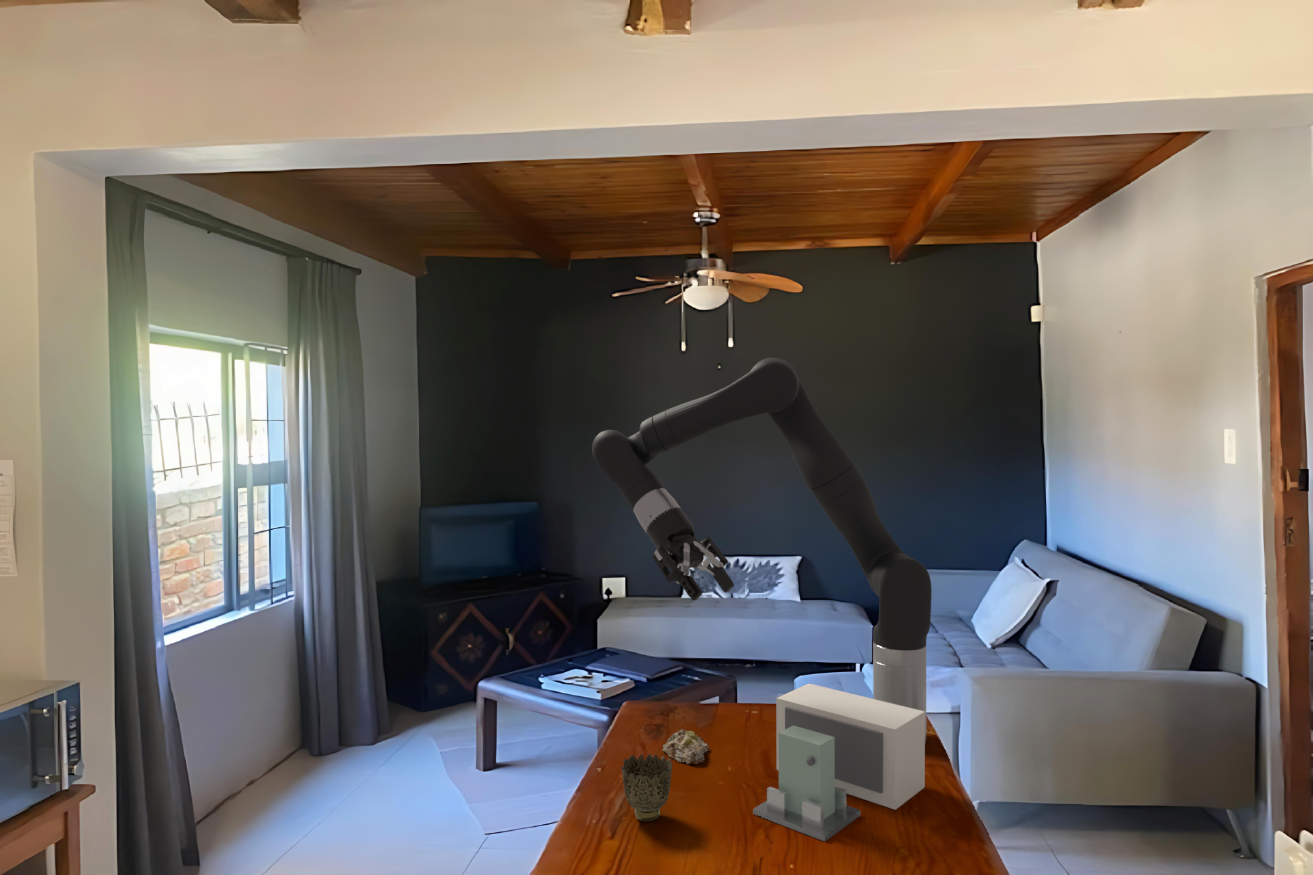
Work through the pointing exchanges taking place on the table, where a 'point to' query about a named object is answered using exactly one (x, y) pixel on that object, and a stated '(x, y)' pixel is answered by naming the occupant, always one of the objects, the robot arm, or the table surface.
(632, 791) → the cup
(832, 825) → the grey holder base
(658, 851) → the table surface
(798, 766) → the pale green rectangular box
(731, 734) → the table surface
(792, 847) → the table surface
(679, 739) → the mineral rock
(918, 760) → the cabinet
